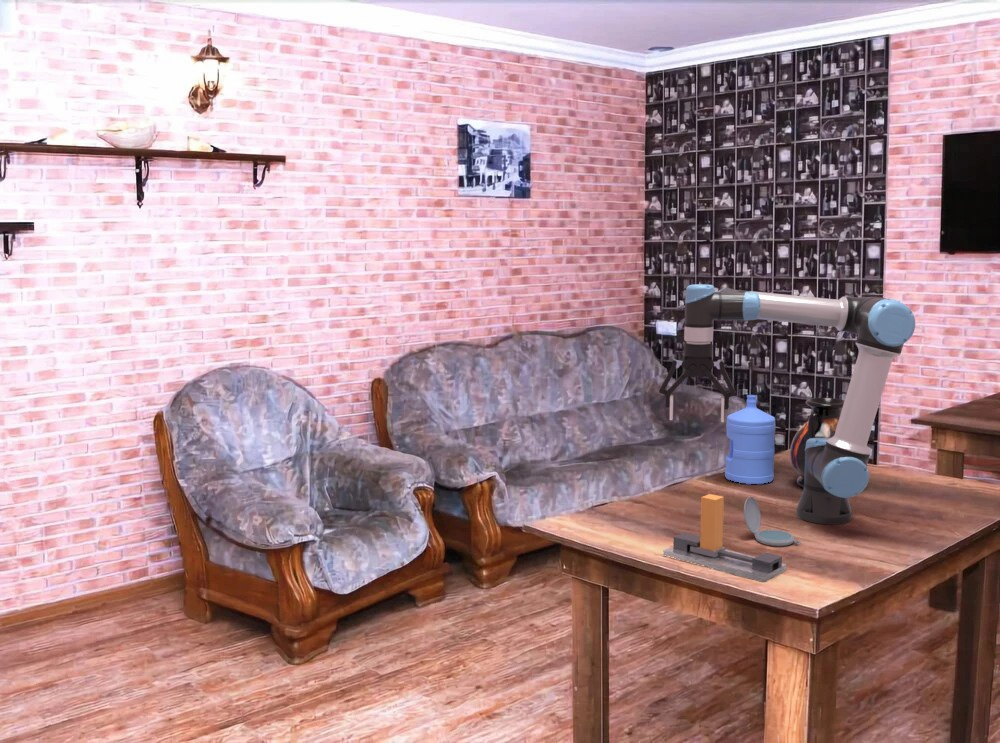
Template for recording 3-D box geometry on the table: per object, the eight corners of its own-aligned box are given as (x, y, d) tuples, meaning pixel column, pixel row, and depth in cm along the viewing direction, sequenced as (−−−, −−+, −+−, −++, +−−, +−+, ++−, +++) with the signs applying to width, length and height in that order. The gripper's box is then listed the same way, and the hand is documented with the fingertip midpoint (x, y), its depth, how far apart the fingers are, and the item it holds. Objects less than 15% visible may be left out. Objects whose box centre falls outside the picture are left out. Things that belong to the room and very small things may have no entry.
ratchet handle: (770, 563, 239) (772, 506, 237) (760, 569, 236) (762, 510, 234) (700, 546, 252) (702, 491, 250) (690, 551, 249) (691, 495, 247)
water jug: (781, 478, 327) (785, 395, 323) (759, 487, 316) (762, 401, 312) (739, 471, 338) (741, 390, 334) (716, 479, 326) (718, 396, 322)
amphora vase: (810, 475, 332) (814, 392, 328) (871, 487, 316) (875, 400, 312) (775, 486, 318) (778, 400, 314) (837, 499, 302) (841, 409, 298)
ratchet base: (786, 570, 240) (786, 552, 239) (764, 582, 232) (764, 563, 231) (686, 545, 259) (687, 529, 258) (663, 555, 251) (663, 538, 250)
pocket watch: (755, 492, 270) (809, 501, 261) (753, 531, 271) (807, 541, 262) (740, 501, 261) (796, 510, 253) (739, 540, 263) (794, 551, 254)
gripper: (746, 341, 266) (743, 419, 269) (652, 339, 271) (651, 415, 274) (746, 345, 259) (744, 424, 262) (650, 343, 264) (649, 421, 267)
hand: (696, 420), depth 268 cm, fingers open, 13 cm apart
